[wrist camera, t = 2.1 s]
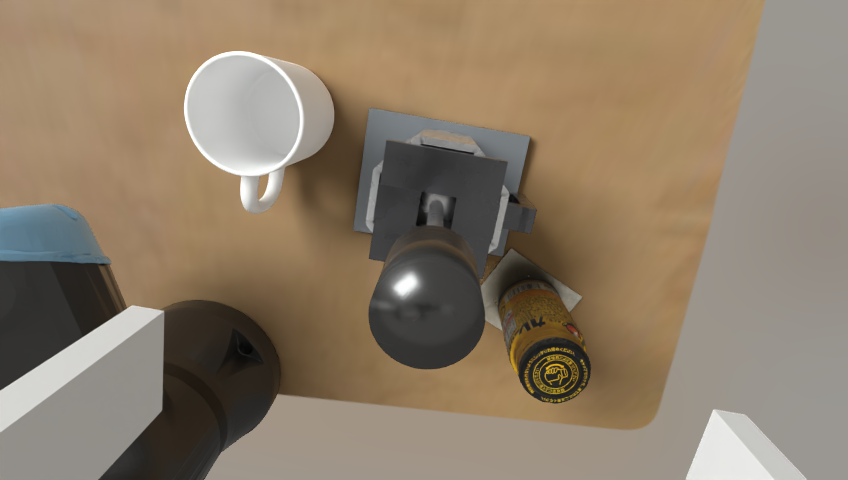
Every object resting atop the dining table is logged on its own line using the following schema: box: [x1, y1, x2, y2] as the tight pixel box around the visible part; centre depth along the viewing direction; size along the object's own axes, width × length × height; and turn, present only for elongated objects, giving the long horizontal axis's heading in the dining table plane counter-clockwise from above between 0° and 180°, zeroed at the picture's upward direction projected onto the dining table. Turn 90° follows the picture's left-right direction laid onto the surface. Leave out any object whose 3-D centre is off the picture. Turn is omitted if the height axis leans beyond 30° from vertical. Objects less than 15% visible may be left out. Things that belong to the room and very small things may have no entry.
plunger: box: [369, 192, 485, 369], centre depth 26 cm, size 7×7×19 cm
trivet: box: [353, 108, 530, 257], centre depth 43 cm, size 14×11×1 cm
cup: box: [184, 51, 334, 214], centre depth 38 cm, size 8×12×10 cm
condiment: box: [481, 249, 591, 403], centre depth 41 cm, size 7×8×12 cm
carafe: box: [366, 128, 537, 279], centre depth 38 cm, size 12×10×11 cm
